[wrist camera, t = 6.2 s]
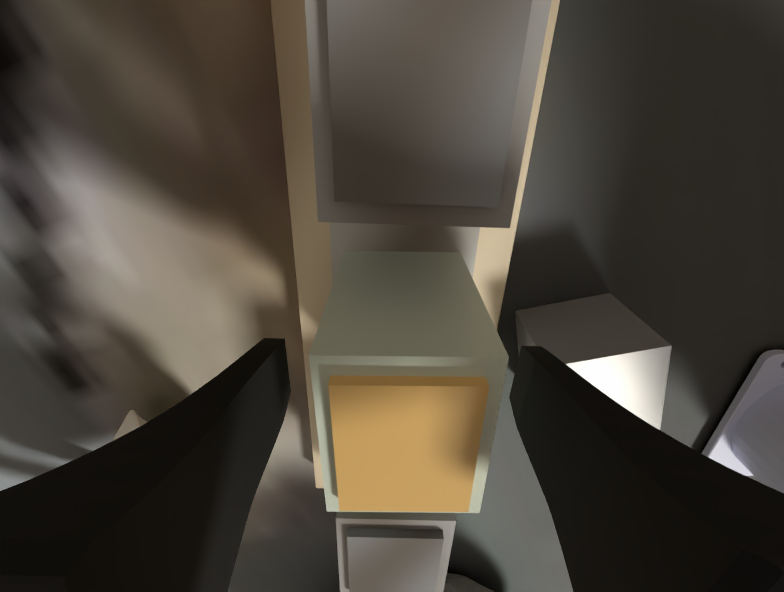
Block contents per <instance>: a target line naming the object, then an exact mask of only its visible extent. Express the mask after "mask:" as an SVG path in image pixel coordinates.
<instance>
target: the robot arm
mask: <svg viewBox="0 0 784 592" xmlns="http://www.w3.org/2000/svg"><path fill="white" fill-rule="evenodd" d="M290 392H291V389H290V380H289V372H288V364H287V355H286V347H285V339H276V338H264V339H263V340H261V341H260V342H259V343H257V344H256V345H255V346H254V347H252V348H251V349H250V350H249V351H247V352H246V353H245V354H244V355H243V356H241V357H240V358H239V359H238V360H236V361H235V362H234V363H233V364H231V365H230V366H229V367H228V368H226V369H225V370H224V371H222V372H221V373H220V374H219V375H217V376H216V377H215V378H213V379H212V380H211V381H209V382H208V383H206V384H205V385H204V386H202V387H201V388H199V389H198V390H197V391H195V392H194V393H192V394H191V395H190V396H188V397H187V398H185V399H184V400H182V401H181V402H179V403H178V404H176V405H175V406H173V407H172V408H170V409H169V410H167V411H165V412H164V413H162V414H160V415H159V416H157V417H155V418H154V419H152V420H150V421H149V422H147V423H145V424H144V425H142V426H140V427H138V428H136V429H134V430H133V431H131V432H129V433H127V434H125V435H123V436H121V437H119V438H117V439H116V440H114V441H112V442H110V443H108V444H106V445H104V446H102V447H100V448H98V449H96V450H94V451H92V452H90V453H88V454H86V455H84V456H82V457H80V458H78V459H75V460H73V461H71V462H69V463H67V464H64V465H62V466H60V467H58V468H55V469H53V470H51V471H49V472H46V473H44V474H42V475H39V476H37V477H35V478H32V479H30V480H28V481H25V482H23V483H20V484H18V485H15V486H12V487H10V488H7V489H5V490H2V491H0V592H227V591H228V587H229V583H230V579H231V576H232V572H233V568H234V564H235V561H236V557H237V553H238V549H239V546H240V542H241V539H242V535H243V532H244V528H245V525H246V521H247V518H248V514H249V511H250V507H251V504H252V502H253V499H254V496H255V493H256V490H257V488H258V485H259V483H260V480H261V477H262V475H263V472H264V470H265V467H266V465H267V462H268V460H269V457H270V455H271V452H272V450H273V447H274V444H275V442H276V439H277V437H278V434H279V431H280V429H281V426H282V424H283V421H284V417H285V413H286V409H287V405H288V401H289V397H290ZM509 398H510V402H511V406H512V410H513V414H514V418H515V422H516V425H517V429H518V431H519V434H520V436H521V439H522V441H523V444H524V446H525V449H526V451H527V454H528V456H529V459H530V461H531V464H532V466H533V469H534V471H535V473H536V476H537V478H538V481H539V483H540V486H541V488H542V491H543V493H544V495H545V498H546V501H547V503H548V506H549V509H550V512H551V515H552V518H553V521H554V524H555V528H556V531H557V534H558V538H559V541H560V545H561V548H562V551H563V555H564V558H565V562H566V566H567V569H568V573H569V577H570V580H571V584H572V588H573V591H574V592H784V350H769V351H766V352H764V353H763V354H761V355H760V357H759V358H758V359H757V361H756V363H755V364H754V366H753V368H752V369H751V371H750V373H749V374H748V376H747V378H746V380H745V381H744V383H743V385H742V386H741V388H740V390H739V391H738V393H737V395H736V396H735V398H734V400H733V401H732V403H731V405H730V406H729V408H728V410H727V411H726V413H725V415H724V416H723V418H722V420H721V421H720V423H719V425H718V426H717V428H716V430H715V431H714V433H713V435H712V437H711V438H710V440H709V442H708V443H707V445H706V447H705V448H704V450H703V452H702V453H699V452H697V451H695V450H693V449H692V448H690V447H688V446H686V445H684V444H683V443H681V442H679V441H677V440H675V439H674V438H672V437H670V436H669V435H667V434H665V433H664V432H662V431H660V430H659V429H657V428H655V427H654V426H652V425H650V424H649V423H647V422H645V421H644V420H642V419H641V418H639V417H638V416H636V415H635V414H633V413H632V412H630V411H629V410H627V409H626V408H624V407H623V406H621V405H620V404H618V403H617V402H615V401H614V400H613V399H611V398H610V397H608V396H607V395H606V394H604V393H603V392H601V391H600V390H599V389H597V388H596V387H595V386H593V385H592V384H591V383H589V382H588V381H587V380H585V379H584V378H583V377H581V376H580V375H579V374H578V373H576V372H575V371H574V370H572V369H571V368H570V367H569V366H567V365H566V364H565V363H563V362H562V361H561V360H560V359H558V358H557V357H556V356H554V355H553V354H552V353H550V352H549V351H548V350H546V349H545V348H543V347H542V346H521V349H520V354H519V358H518V362H517V367H516V371H515V375H514V379H513V384H512V388H511V392H510V397H509ZM747 476H755V477H756V478H757V479H758V480H759V481H760V482H761V483H760V482H758V481H755V480H753V479H751V478H749V477H747Z"/></svg>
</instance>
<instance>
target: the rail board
mask: <svg viewBox="0 0 784 592" xmlns="http://www.w3.org/2000/svg"><path fill="white" fill-rule="evenodd" d="M270 1H271V12H272V23H273V34H274V44H275V55H276V66H277V76H278V87H279V98H280V108H281V119H282V130H283V140H284V151H285V162H286V173H287V183H288V194H289V205H290V215H291V226H292V237H293V247H294V258H295V269H296V279H297V290H298V301H299V312H300V322H301V333H302V344H303V354H304V365H305V376H306V386H307V397H308V408H309V418H310V429H311V440H312V451H313V461H314V472H315V483H316V488H324V484H323V475H322V467H321V458H320V449H319V440H318V432H317V423H316V414H315V406H314V397H313V388H312V380H311V371H310V362H309V353H310V350H311V347H312V344H313V341H314V338H315V336H316V333H317V330H318V327H319V324H320V321H321V318H322V315H323V312H324V309H325V306H326V303H327V300H328V297H329V294H330V291H331V288H332V286H333V283H334V280H335V277H336V274H337V271H338V268H339V265H340V262H341V259H342V256H343V253H344V251H400V252H461V254H462V257H463V259H464V261H465V263H466V265H467V267H468V270H469V272H470V274H471V276H472V278H473V280H474V283H475V285H476V287H477V289H478V291H479V293H480V296H481V298H482V300H483V302H484V304H485V306H486V309H487V311H488V313H489V315H490V317H491V319H492V322H493V324H494V326H495V328H496V330H497V327H498V322H499V316H500V311H501V306H502V301H503V296H504V290H505V285H506V280H507V275H508V269H509V264H510V259H511V254H512V249H513V243H514V238H515V233H516V228H517V222H518V217H519V212H520V207H521V202H522V196H523V191H524V186H525V181H526V175H527V170H528V165H529V160H530V155H531V149H532V144H533V139H534V134H535V128H536V123H537V118H538V113H539V108H540V102H541V97H542V92H543V87H544V81H545V76H546V71H547V66H548V61H549V55H550V50H551V45H552V40H553V34H554V29H555V24H556V19H557V14H558V8H559V3H560V0H270ZM455 525H456V516H455V513H429V512H336V532H337V549H338V566H339V582H340V592H443V591H444V585H445V580H446V574H447V569H448V563H449V558H450V552H451V547H452V542H453V536H454V531H455Z"/></svg>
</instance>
